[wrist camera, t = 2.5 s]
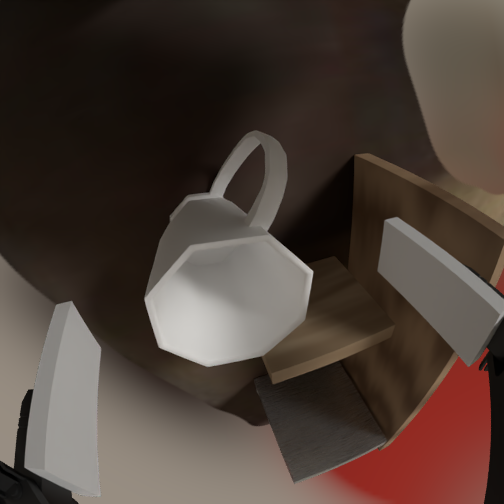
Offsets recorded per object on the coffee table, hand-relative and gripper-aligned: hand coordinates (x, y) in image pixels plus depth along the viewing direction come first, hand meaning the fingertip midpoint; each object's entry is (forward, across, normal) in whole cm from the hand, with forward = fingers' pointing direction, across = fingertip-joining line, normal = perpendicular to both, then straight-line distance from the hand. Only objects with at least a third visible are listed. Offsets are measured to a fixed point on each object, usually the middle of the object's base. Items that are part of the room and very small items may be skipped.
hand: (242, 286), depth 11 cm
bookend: (+8, +5, -20) cm, 22 cm away
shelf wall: (+8, +11, -11) cm, 17 cm away
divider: (+8, +5, -7) cm, 11 cm away
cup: (+8, 0, 0) cm, 8 cm away
